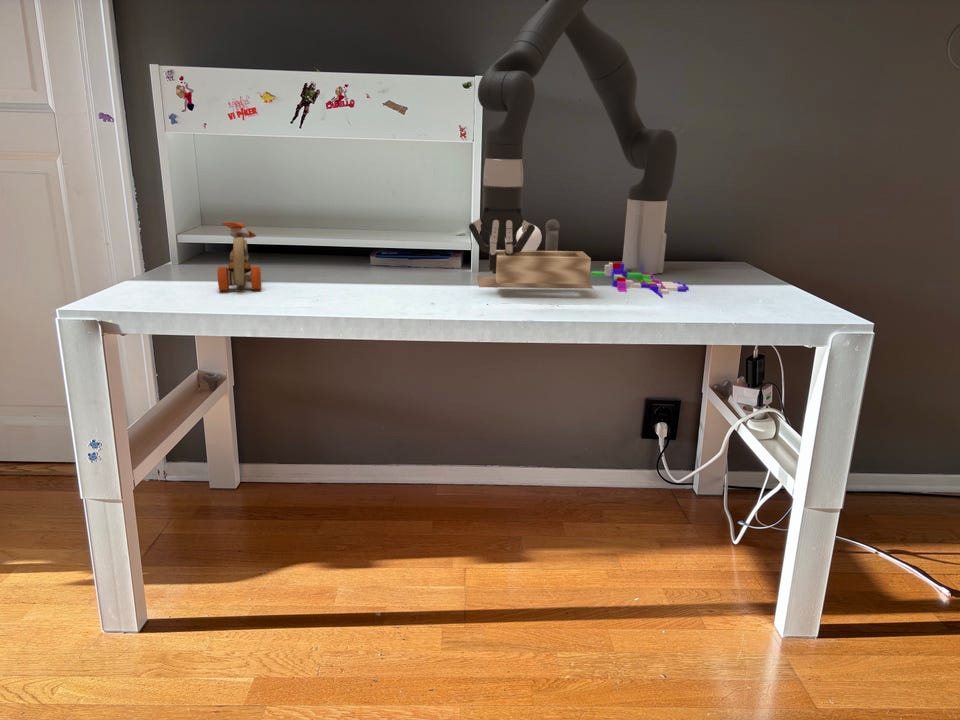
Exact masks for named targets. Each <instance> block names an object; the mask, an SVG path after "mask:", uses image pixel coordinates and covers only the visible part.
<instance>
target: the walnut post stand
mask: <svg viewBox="0 0 960 720" xmlns="http://www.w3.org/2000/svg"><path fill="white" fill-rule="evenodd" d="M560 229H561V226H560V222H559V221H558V220H557V219H549V220H547V222H546V223H545V248H544V249H545V250H544V251H558V245H559V230H560ZM476 280H477V283H478V287H479V288H513V289H515V288H516V289H517V288H519V289H520V288H521V289H522V288H523V289H528V288H529V289H592V290H593V289H595V288H594V287H593V286H592V285H591V284H590V283H589V284H546V283H497V282H496V279H495V276H476Z"/></svg>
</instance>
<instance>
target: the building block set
mask: <svg viewBox="0 0 960 720" xmlns="http://www.w3.org/2000/svg"><path fill="white" fill-rule="evenodd" d="M590 275H591V276H592V277H611V279H612V283H611V284H612V288H616V289H617V291H618V292H621V293H628V290H627V288H629V289H631V288H632V289H648V290H650V291H652V292H653V293H655V294H656V295H657V296H658V297H660V298H661V299H663V294H664V295H667V294H670V291H671V292H672V291H674V292H678V293H680V292H681V293H687V291H690V287H689V286H687V284H686V283H684V282H682V283H681V281H676V280H675V281H660V279H659V278H654V274H649V273H648V272H640V273H629V272H627V270H624V263H622V262H610V261H609V262H608V264H604V271H594V270H593V271H590ZM626 278H635V279H636V280H637V281H638V282H634V281H633V280H632V279H626Z"/></svg>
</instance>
